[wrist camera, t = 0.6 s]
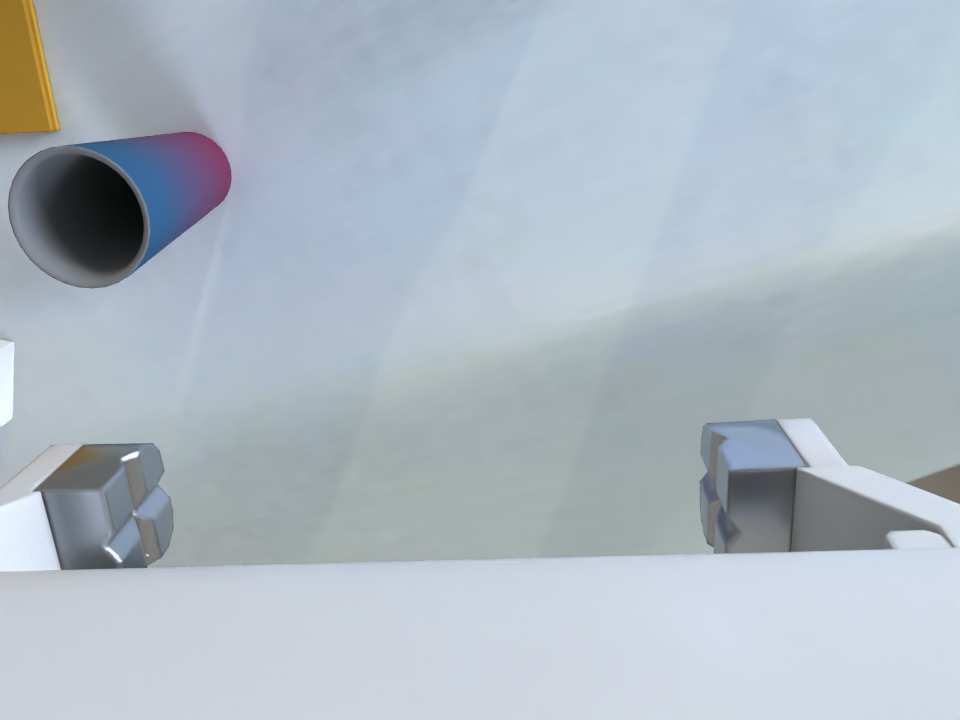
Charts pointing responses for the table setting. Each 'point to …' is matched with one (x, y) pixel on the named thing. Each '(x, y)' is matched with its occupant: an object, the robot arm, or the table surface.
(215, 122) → the table surface
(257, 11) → the table surface
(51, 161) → the cup
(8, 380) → the milk
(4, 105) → the cloth
